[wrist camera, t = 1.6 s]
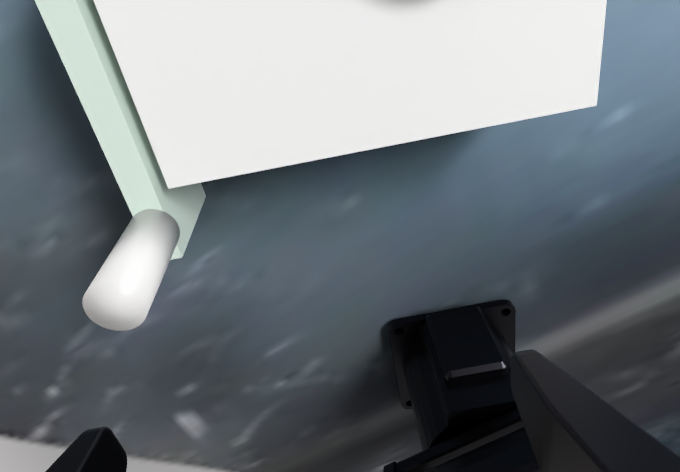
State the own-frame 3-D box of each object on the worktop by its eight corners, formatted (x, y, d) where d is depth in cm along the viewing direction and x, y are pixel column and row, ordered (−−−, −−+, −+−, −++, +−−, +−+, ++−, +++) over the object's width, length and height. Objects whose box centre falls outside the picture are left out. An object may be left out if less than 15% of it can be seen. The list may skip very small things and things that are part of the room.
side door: (212, 194, 21) (161, 336, 13) (176, 202, 21) (105, 346, 13) (117, -81, 16) (-56, -108, 8) (68, -71, 16) (-148, -89, 8)
